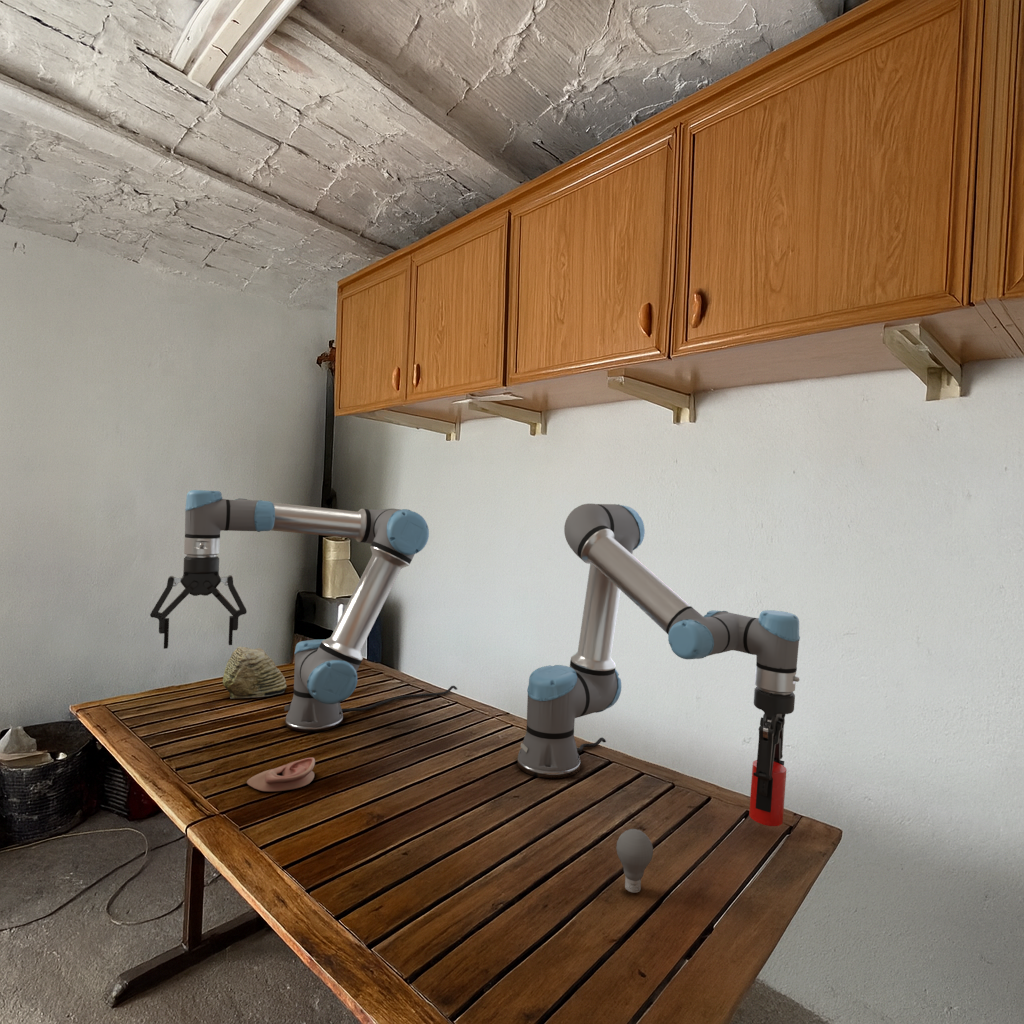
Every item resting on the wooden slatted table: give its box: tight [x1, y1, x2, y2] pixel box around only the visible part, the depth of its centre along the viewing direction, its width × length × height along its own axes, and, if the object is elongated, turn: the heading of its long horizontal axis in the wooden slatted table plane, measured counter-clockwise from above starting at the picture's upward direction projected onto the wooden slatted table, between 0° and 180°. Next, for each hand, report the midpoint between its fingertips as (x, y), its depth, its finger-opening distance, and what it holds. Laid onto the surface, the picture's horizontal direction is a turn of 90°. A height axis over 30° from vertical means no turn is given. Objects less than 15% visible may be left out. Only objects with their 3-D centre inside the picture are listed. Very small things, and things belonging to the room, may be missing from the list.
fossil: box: [222, 646, 288, 699], centre depth 198 cm, size 9×18×15 cm, turn 132°
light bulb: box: [615, 828, 654, 894], centre depth 106 cm, size 6×6×10 cm
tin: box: [748, 759, 788, 827], centre depth 127 cm, size 6×6×11 cm
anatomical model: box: [246, 757, 316, 792], centre depth 140 cm, size 13×4×12 cm
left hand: (198, 645), depth 149 cm, fingers open, 13 cm apart
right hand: (766, 802), depth 127 cm, fingers closed on tin, 6 cm apart
